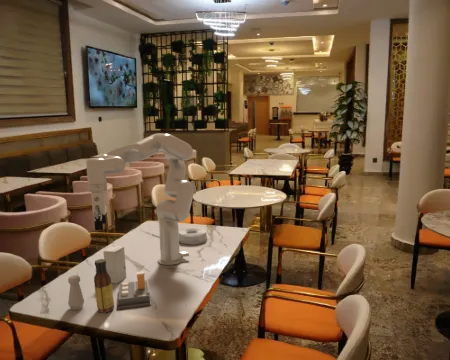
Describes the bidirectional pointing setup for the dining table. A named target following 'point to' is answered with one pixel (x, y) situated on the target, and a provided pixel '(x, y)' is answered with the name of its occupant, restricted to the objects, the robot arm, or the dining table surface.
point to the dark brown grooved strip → (133, 305)
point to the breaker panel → (133, 293)
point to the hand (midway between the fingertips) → (100, 226)
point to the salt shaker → (75, 293)
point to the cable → (192, 235)
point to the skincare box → (115, 263)
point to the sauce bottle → (103, 287)
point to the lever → (141, 280)
